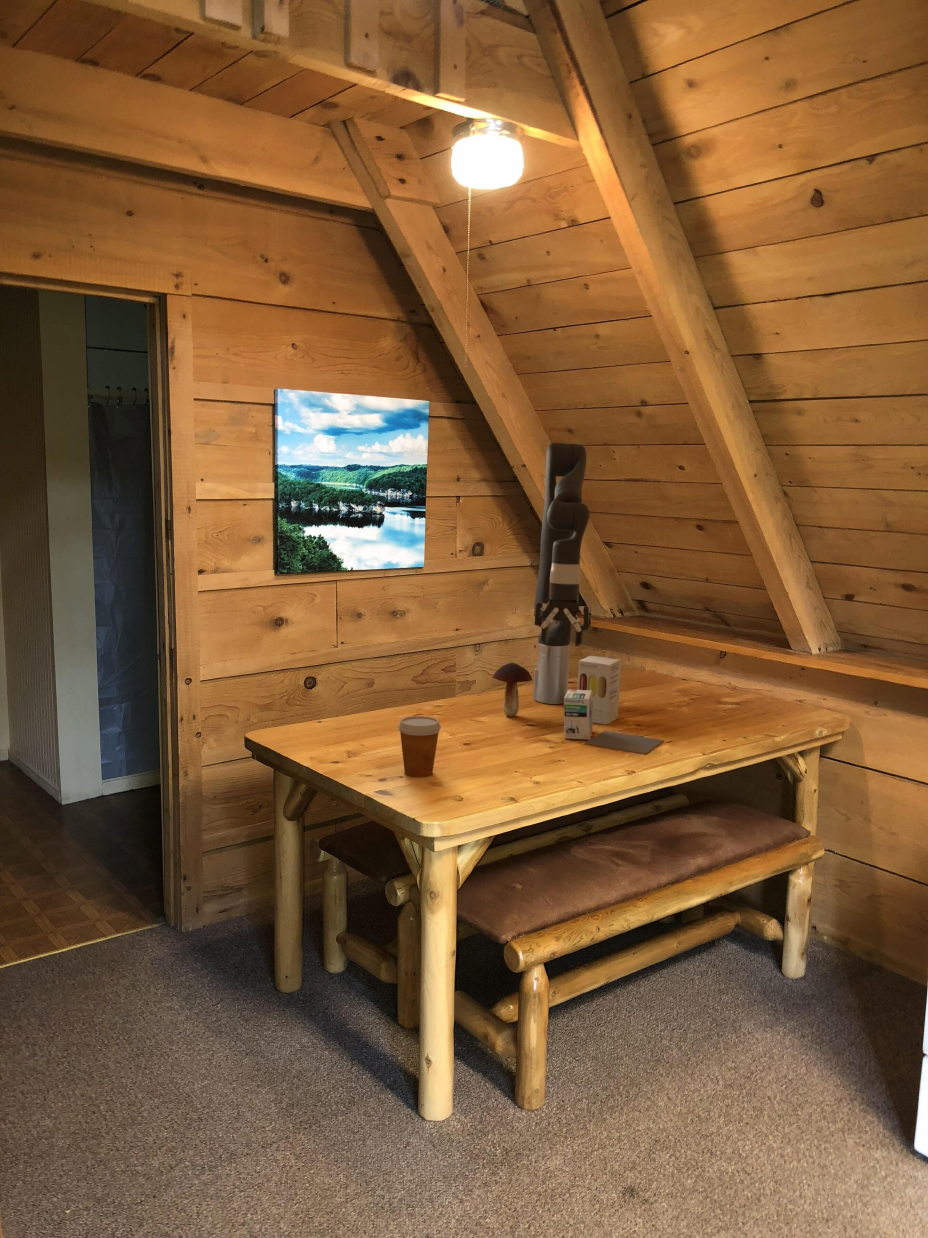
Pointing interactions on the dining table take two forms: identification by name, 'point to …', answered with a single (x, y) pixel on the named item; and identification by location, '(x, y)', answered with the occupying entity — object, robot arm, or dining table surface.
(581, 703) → the light bulb box
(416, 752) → the disposable coffee cup
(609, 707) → the supplement box
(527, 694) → the dining table surface
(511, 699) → the decorative mushroom
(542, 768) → the dining table surface
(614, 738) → the mat
